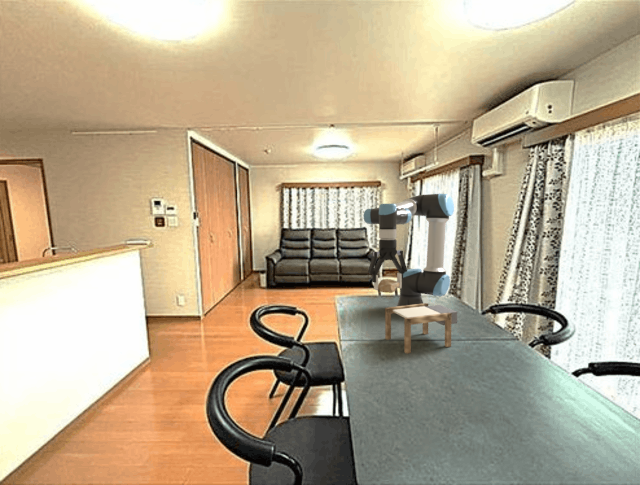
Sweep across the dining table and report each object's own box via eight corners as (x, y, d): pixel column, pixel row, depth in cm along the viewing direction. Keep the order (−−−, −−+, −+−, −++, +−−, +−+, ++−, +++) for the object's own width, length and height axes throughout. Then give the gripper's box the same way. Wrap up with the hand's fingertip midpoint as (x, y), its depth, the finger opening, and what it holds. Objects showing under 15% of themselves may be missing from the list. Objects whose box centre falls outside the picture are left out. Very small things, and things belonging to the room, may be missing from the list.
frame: (426, 332, 164) (426, 303, 163) (451, 346, 147) (451, 313, 146) (385, 338, 158) (385, 307, 156) (406, 353, 141) (406, 319, 140)
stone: (401, 289, 159) (401, 279, 158) (391, 293, 150) (391, 283, 150) (384, 287, 163) (384, 277, 163) (373, 291, 155) (373, 281, 155)
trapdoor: (438, 314, 163) (438, 304, 162) (458, 324, 150) (458, 312, 149) (392, 320, 156) (392, 309, 155) (409, 330, 143) (409, 318, 142)
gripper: (407, 237, 163) (406, 285, 164) (359, 239, 156) (360, 288, 158) (415, 238, 155) (415, 288, 157) (366, 240, 149) (367, 292, 151)
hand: (387, 288), depth 158 cm, fingers closed on stone, 11 cm apart
